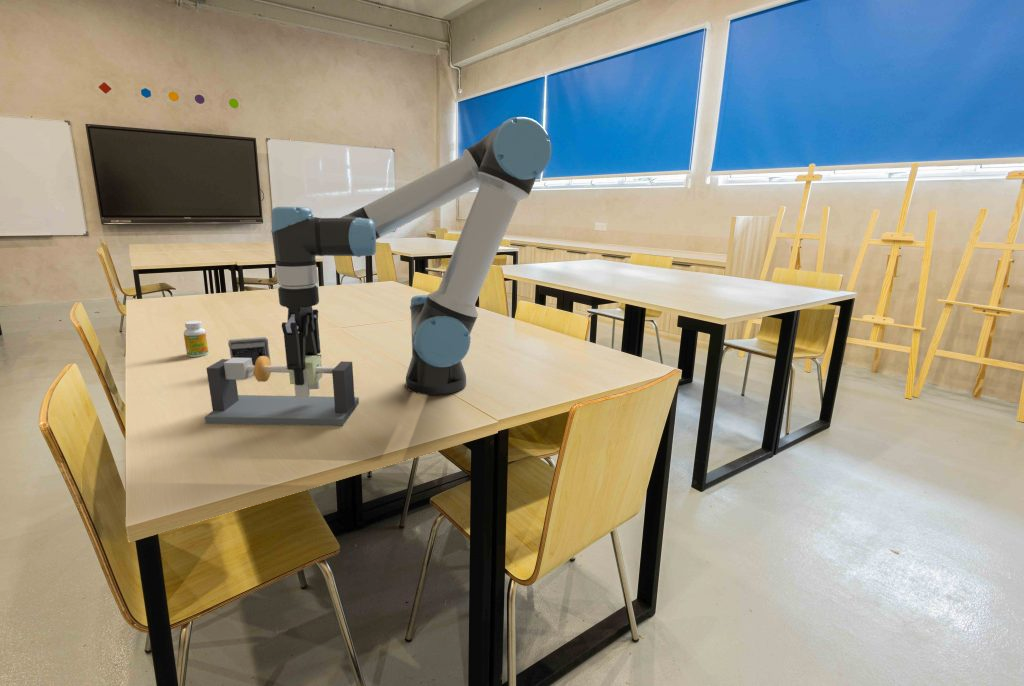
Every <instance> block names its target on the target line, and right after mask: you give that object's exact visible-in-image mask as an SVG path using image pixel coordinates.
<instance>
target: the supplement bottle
mask: <svg viewBox="0 0 1024 686" xmlns="http://www.w3.org/2000/svg"><path fill="white" fill-rule="evenodd" d="M202 325H203V323H202V321H201V320H189V321H186V322H184V327H185V328H186V329H184V331H183V337H184V338H183V339H184V343H185V344H184V345H185V351H186V356H187V357H191V358H199V357H200V358H201V357H204V356H206V355H208V354H209V347H208V340H207V332H206V330H205V329H204V328H203V326H202Z"/></svg>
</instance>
